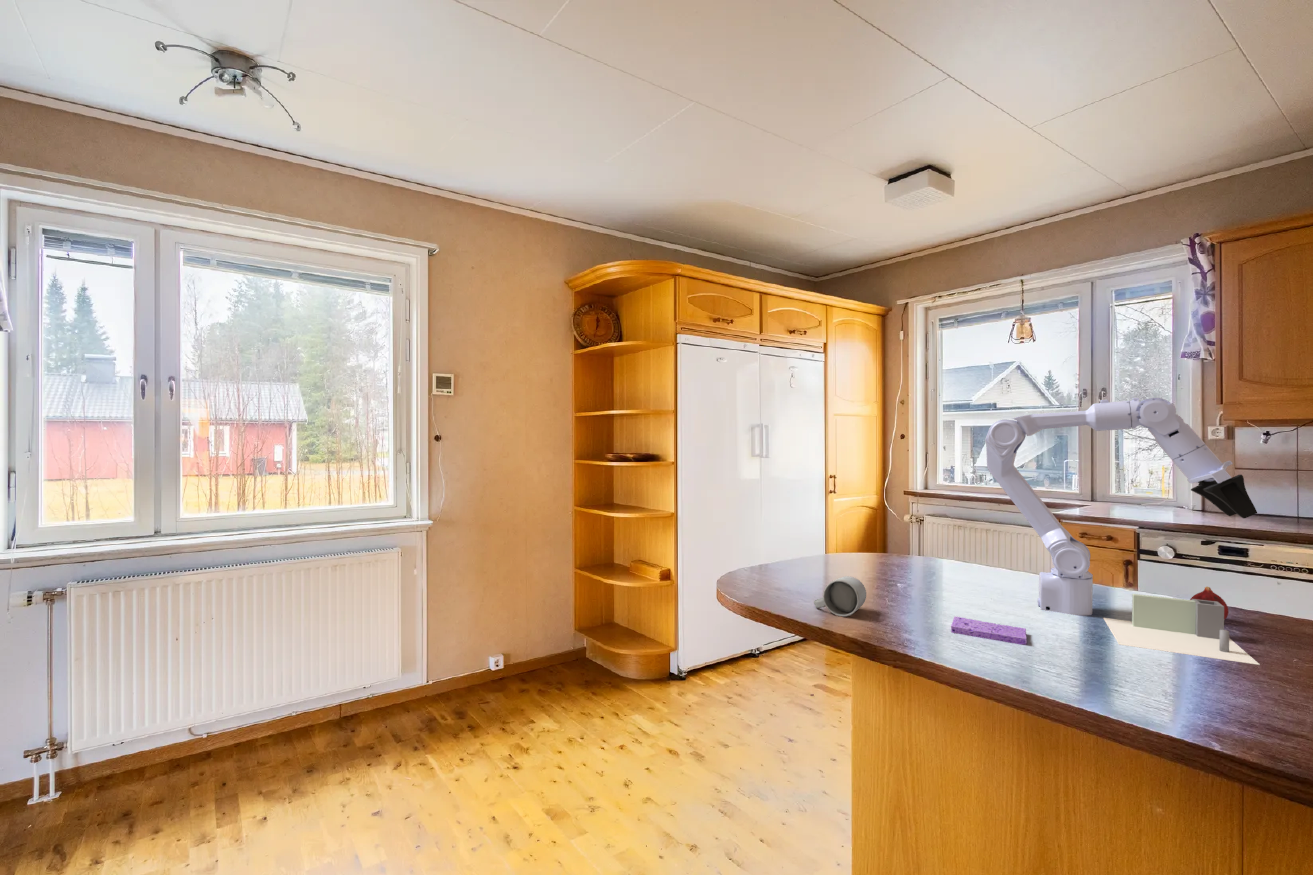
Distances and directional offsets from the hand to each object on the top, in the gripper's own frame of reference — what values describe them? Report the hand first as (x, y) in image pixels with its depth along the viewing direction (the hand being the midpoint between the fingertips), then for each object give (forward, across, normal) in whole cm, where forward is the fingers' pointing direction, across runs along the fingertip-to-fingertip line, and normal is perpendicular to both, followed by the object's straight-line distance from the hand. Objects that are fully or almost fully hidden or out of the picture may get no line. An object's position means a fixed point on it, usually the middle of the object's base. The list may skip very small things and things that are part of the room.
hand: (1242, 514), depth 107 cm
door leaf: (+13, -1, +20) cm, 24 cm away
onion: (+18, +11, +15) cm, 26 cm away
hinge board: (+14, -7, +23) cm, 28 cm away
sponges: (0, -16, +48) cm, 50 cm away
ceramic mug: (-16, -16, +71) cm, 75 cm away
